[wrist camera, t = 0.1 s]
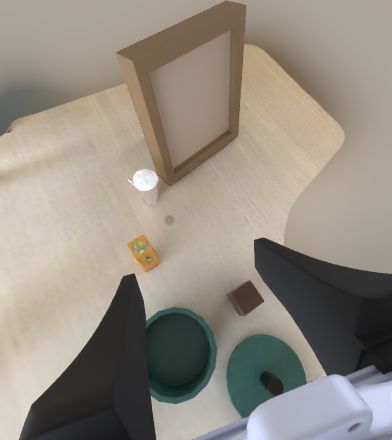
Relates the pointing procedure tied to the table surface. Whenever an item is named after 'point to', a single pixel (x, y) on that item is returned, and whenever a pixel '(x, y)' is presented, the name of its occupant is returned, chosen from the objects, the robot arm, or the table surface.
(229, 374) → the lid
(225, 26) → the photo frame
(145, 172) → the milkshake
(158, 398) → the tin
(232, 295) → the block
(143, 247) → the supplement box
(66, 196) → the table surface
